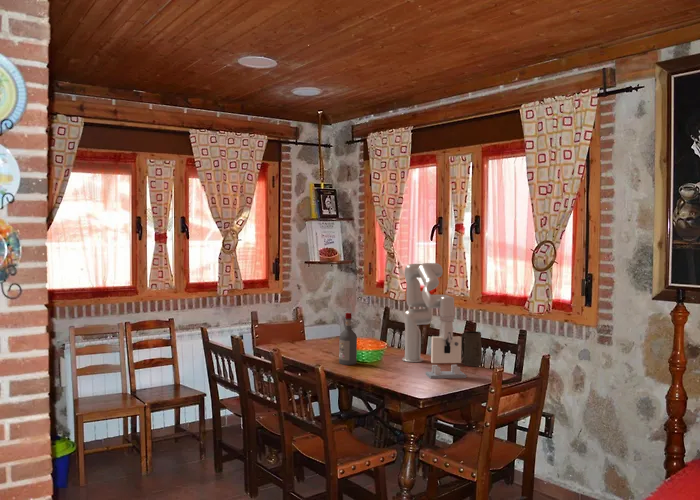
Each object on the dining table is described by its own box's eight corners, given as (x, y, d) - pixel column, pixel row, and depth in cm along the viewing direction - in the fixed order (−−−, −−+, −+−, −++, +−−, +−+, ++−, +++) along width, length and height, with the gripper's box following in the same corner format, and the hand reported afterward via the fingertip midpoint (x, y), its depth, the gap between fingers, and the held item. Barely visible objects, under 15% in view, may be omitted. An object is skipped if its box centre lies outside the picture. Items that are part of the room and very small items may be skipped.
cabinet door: (431, 362, 330) (431, 336, 330) (459, 361, 333) (459, 336, 332) (433, 363, 326) (433, 337, 326) (461, 363, 328) (462, 337, 328)
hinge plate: (425, 374, 334) (425, 364, 334) (460, 373, 336) (460, 363, 336) (430, 378, 324) (430, 368, 324) (466, 377, 326) (466, 367, 326)
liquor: (346, 365, 353) (347, 314, 353) (337, 363, 360) (337, 312, 360) (358, 363, 359) (359, 313, 359) (348, 361, 366) (349, 311, 366)
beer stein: (486, 365, 361) (485, 331, 362) (475, 367, 354) (473, 333, 355) (465, 362, 373) (464, 330, 374) (454, 364, 366) (453, 331, 366)
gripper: (435, 316, 337) (435, 349, 337) (444, 320, 321) (443, 355, 321) (448, 316, 338) (448, 349, 339) (458, 320, 322) (457, 355, 322)
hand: (446, 352), depth 330 cm, fingers closed on cabinet door, 3 cm apart
